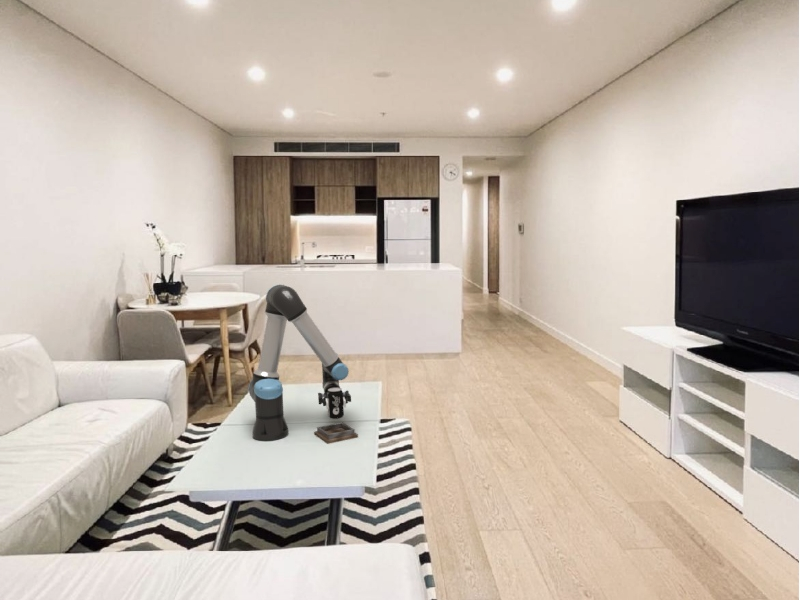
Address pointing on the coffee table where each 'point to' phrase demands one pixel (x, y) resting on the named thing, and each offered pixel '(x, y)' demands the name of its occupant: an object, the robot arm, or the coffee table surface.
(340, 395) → the beverage can
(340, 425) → the tray
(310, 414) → the coffee table surface
